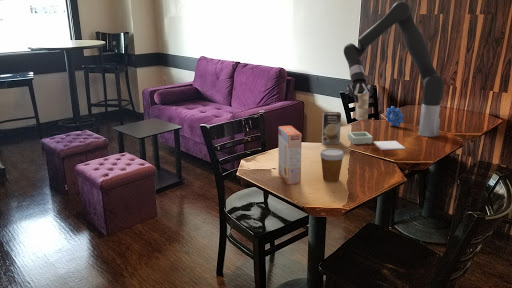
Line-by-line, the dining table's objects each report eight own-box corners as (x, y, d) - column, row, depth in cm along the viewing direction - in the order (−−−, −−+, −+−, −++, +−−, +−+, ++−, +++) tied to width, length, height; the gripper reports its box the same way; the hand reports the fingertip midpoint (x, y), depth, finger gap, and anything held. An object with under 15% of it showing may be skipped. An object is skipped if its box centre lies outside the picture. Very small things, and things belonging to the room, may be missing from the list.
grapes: (381, 125, 238) (382, 106, 234) (386, 123, 242) (387, 104, 239) (399, 128, 230) (401, 108, 227) (404, 126, 235) (406, 107, 231)
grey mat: (395, 141, 206) (395, 140, 206) (405, 149, 195) (405, 147, 195) (373, 142, 206) (373, 141, 206) (381, 149, 195) (381, 148, 194)
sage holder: (366, 137, 215) (366, 131, 214) (372, 143, 205) (372, 136, 204) (348, 138, 214) (348, 132, 213) (353, 143, 205) (353, 137, 204)
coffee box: (322, 144, 206) (323, 114, 201) (321, 140, 212) (322, 111, 207) (340, 144, 205) (341, 114, 200) (338, 140, 211) (340, 111, 206)
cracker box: (301, 183, 157) (302, 133, 150) (287, 185, 156) (287, 134, 149) (291, 171, 170) (291, 124, 164) (278, 172, 169) (277, 125, 162)
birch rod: (364, 117, 209) (365, 93, 205) (367, 119, 204) (368, 94, 200) (355, 117, 208) (356, 93, 205) (357, 120, 204) (359, 95, 200)
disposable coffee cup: (316, 175, 164) (317, 148, 161) (339, 174, 165) (340, 147, 162) (322, 184, 155) (323, 156, 152) (345, 183, 156) (347, 155, 152)
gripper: (345, 71, 206) (350, 98, 199) (372, 70, 207) (378, 97, 199) (342, 80, 213) (347, 106, 205) (368, 79, 213) (374, 105, 206)
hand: (362, 102), depth 202 cm, fingers closed on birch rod, 5 cm apart
